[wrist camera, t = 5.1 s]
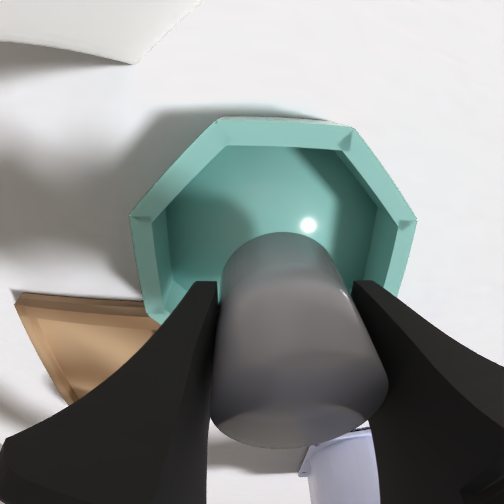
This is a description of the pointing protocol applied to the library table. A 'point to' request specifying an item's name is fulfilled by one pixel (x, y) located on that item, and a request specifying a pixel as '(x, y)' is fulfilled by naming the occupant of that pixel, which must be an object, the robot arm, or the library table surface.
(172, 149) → the library table surface
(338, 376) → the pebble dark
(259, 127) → the dish
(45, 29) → the milk carton
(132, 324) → the tray
